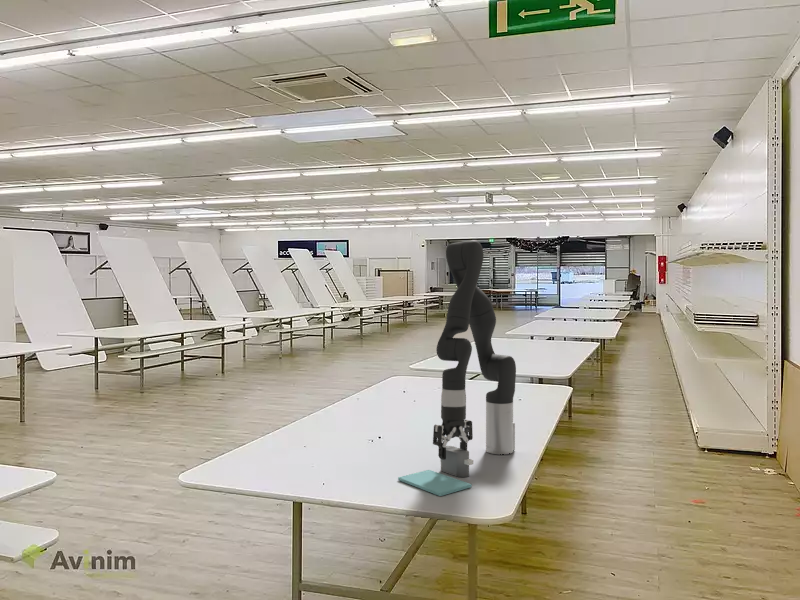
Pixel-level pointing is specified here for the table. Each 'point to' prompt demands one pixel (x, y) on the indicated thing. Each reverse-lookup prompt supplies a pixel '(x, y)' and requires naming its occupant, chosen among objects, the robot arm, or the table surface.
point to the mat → (435, 482)
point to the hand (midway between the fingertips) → (452, 456)
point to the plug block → (456, 462)
